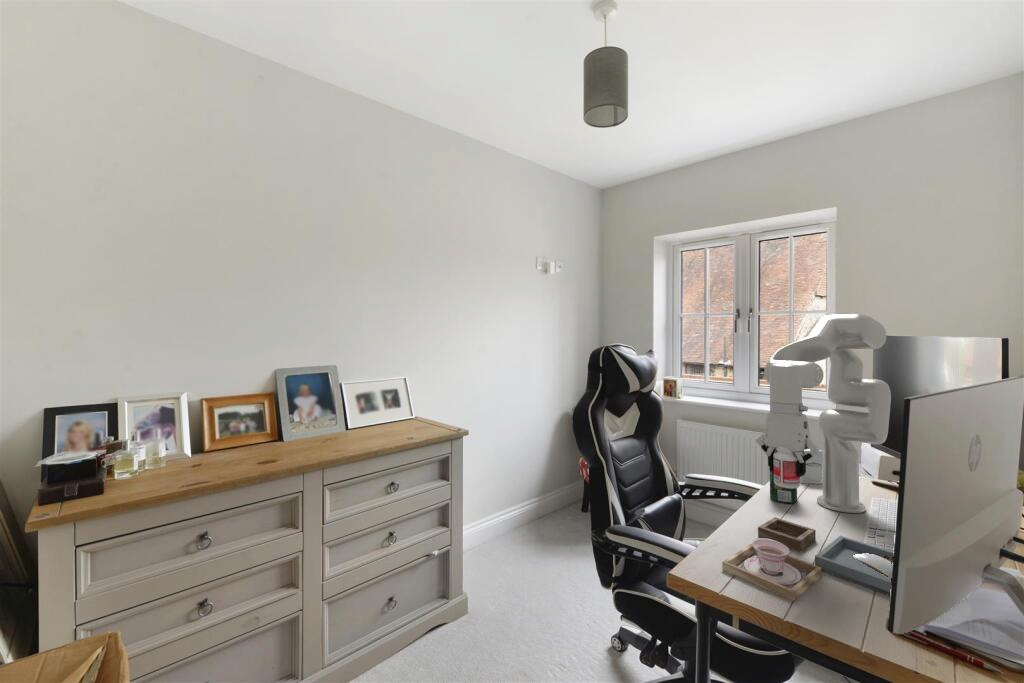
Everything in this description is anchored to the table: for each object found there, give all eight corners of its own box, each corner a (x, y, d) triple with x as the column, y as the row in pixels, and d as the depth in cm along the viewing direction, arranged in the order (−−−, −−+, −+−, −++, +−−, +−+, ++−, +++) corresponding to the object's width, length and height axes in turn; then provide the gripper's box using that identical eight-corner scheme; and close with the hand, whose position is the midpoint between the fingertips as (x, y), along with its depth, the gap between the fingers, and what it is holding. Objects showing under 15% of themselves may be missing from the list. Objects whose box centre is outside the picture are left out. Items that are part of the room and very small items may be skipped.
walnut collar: (774, 527, 128) (774, 517, 128) (815, 540, 119) (815, 529, 119) (758, 537, 122) (757, 527, 121) (799, 552, 113) (799, 541, 113)
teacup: (734, 558, 111) (734, 534, 111) (783, 559, 110) (783, 535, 110) (758, 586, 99) (758, 559, 99) (813, 586, 99) (813, 559, 98)
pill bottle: (804, 485, 119) (803, 446, 119) (793, 491, 116) (793, 450, 116) (780, 479, 124) (779, 441, 124) (769, 484, 121) (768, 445, 121)
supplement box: (801, 483, 162) (801, 450, 162) (792, 477, 170) (792, 445, 169) (823, 484, 161) (823, 450, 161) (813, 478, 168) (812, 445, 168)
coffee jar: (771, 492, 155) (771, 440, 154) (798, 497, 150) (797, 443, 149) (767, 500, 147) (767, 446, 147) (795, 506, 142) (794, 450, 142)
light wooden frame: (753, 549, 115) (753, 542, 115) (821, 576, 102) (821, 567, 102) (722, 569, 106) (722, 561, 106) (793, 601, 93) (793, 592, 93)
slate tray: (840, 546, 116) (840, 535, 116) (927, 574, 102) (927, 562, 102) (815, 568, 106) (814, 555, 106) (907, 602, 92) (907, 588, 92)
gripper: (827, 410, 115) (828, 477, 115) (759, 402, 129) (760, 462, 129) (816, 414, 110) (817, 484, 111) (746, 406, 124) (747, 468, 125)
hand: (786, 472), depth 120 cm, fingers closed on pill bottle, 6 cm apart
